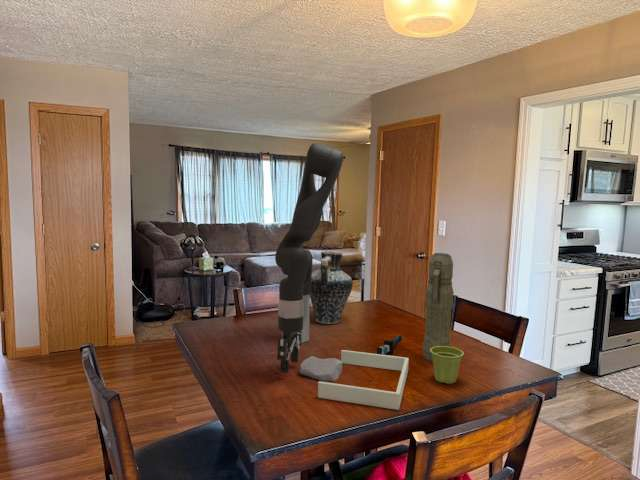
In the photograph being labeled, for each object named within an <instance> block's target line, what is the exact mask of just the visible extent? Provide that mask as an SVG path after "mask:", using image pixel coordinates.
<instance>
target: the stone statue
mask: <svg viewBox="0 0 640 480" xmlns="http://www.w3.org/2000/svg"><path fill="white" fill-rule="evenodd" d="M428 262H429V263H428V281H427V285H426V289H425V299H424V300H425V301H424V303H425V308H426V311H425V312H426V313H425V314H426V315H425V329H424V331H425V332H424V338H423V341H422V351H423V353H422V358H423V359H424V360H426V361H428V362H432V363H433V357H432V353H431V352H430V349H431V348H432V347H436V346H448V347H452V343H451V342H452V341H451V340H452V339H451V319H452V315H451V314H452V309H453V307H454V288H453V282H452V279H453V277H454V276H453V275H454V273H453V271H454V270H453V269H454V261H453V257H452V255H450V254H449V253H443V252H435V253H433V254H432V255H431V256H430V259H429V261H428Z"/></svg>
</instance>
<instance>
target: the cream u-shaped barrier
mask: <svg viewBox="0 0 640 480" xmlns="http://www.w3.org/2000/svg"><path fill="white" fill-rule="evenodd" d="M409 360H410V359H409V357H403V356H396V355H390V354H388V355H387V354H384V355H380V354H377V353H373V352H372V353H370V352H363V351H354V350H347V349H341V352H340V361H341V362H342V364H343V365H344V364H345V365H354V366H361V367H368V368H377V369H382V370H383V369H385V370H391V371H392V370H393V371H399V372H400V376H399V379H398V383H397V388H396V390H395V391H388V390H382V389H376V388H369V387H362V386H357V385H356V386H355V385H349V384H348V385H347V384H341V383H334V382H329V381H322V380H319V381H318V382H317V386H318V387H317V398H319V399H326V400H332V401H337V402H338V401H339V402H344V403H345V402H346V403H353V404H359V405H364V406H369V407H370V406H371V407H378V408H383V409H384V408H385V409H391V410H395V411H397V410H398V411H399V410H400V407H401V402H402V398H403V394H404V391H405V386H406V381H407V377H408V372H409V363H410V361H409Z"/></svg>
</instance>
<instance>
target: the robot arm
mask: <svg viewBox="0 0 640 480" xmlns="http://www.w3.org/2000/svg"><path fill="white" fill-rule="evenodd" d="M343 162H344V152H343V151H341V150H339V149H337V148H333V147H331V146H327V145H324V144H321V143H319V142H318V143H317V142H313V143H312V144H311V145H310V146H309V148H308V150H307V152H306V156H305V161H304V166H303V172H302V176H301V177H302V179H301V185H300V189H299V192H298V196H297V199H296V203H295V208H294V212H293V215H292V221H291V224H290V228H289V230H288V232H287V233H286V234H285V235H284V237H283V238H282V240H281V241H280V243H279V245H278V246H277V248H276V251H275V254H274V255H275V256H274V257H275V259H274V260H275V264H276V265H277V266H278V268H280V269H281V272H282V273H283V274H284V275H286V276H287V277H285V278H282V279H280V281H279V288H278V289H279V290H278V291H279V293H278V306H277V330H278V331H281V338H278V340H277V352H276V353H277V354H276V355H277V357H276V359H277V360H280V373H285V374H287V373H288V372H289V371H290V370H289V368H290V364H289V363H290V362H291V363H296V364H297V363H298V362H299V350H300V348H301V347H302V343H305V342H308V341H309V340H310V319H311V318H310V313H311V312H310V311H311V309H310V308H311V298H310V288H311V277H312V272H313V255H312V253H311V251H310V250H308V249H305V248H303V247H301V246H302V245H303V244H305V243H307V242H310V241H311V239H312V238H313V235H314V234H315V233H316V231H317V230H318V229H319V226H320V223H321V219H322V216H323V208H324V206H325V205H326V202H327V201H328V198H329V196H330V194H331V193H332V189H333V188H334V186H335V183H336V181H337V180H338V178H339V175H340V171H341V169H342V167H343ZM315 176H318V177H322V178H324V179H325V180H324V181H323V183H322V184H321V186H320V187H319V188H318V189H317V187H316V185H315ZM289 359H290V361H289Z"/></svg>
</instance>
